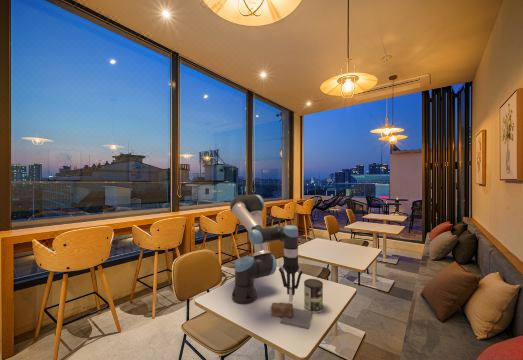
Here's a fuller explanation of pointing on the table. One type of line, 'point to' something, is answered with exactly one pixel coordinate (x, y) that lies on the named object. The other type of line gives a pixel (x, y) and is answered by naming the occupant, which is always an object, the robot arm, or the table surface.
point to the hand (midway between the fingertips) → (291, 300)
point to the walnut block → (282, 309)
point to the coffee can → (313, 295)
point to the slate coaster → (298, 318)
